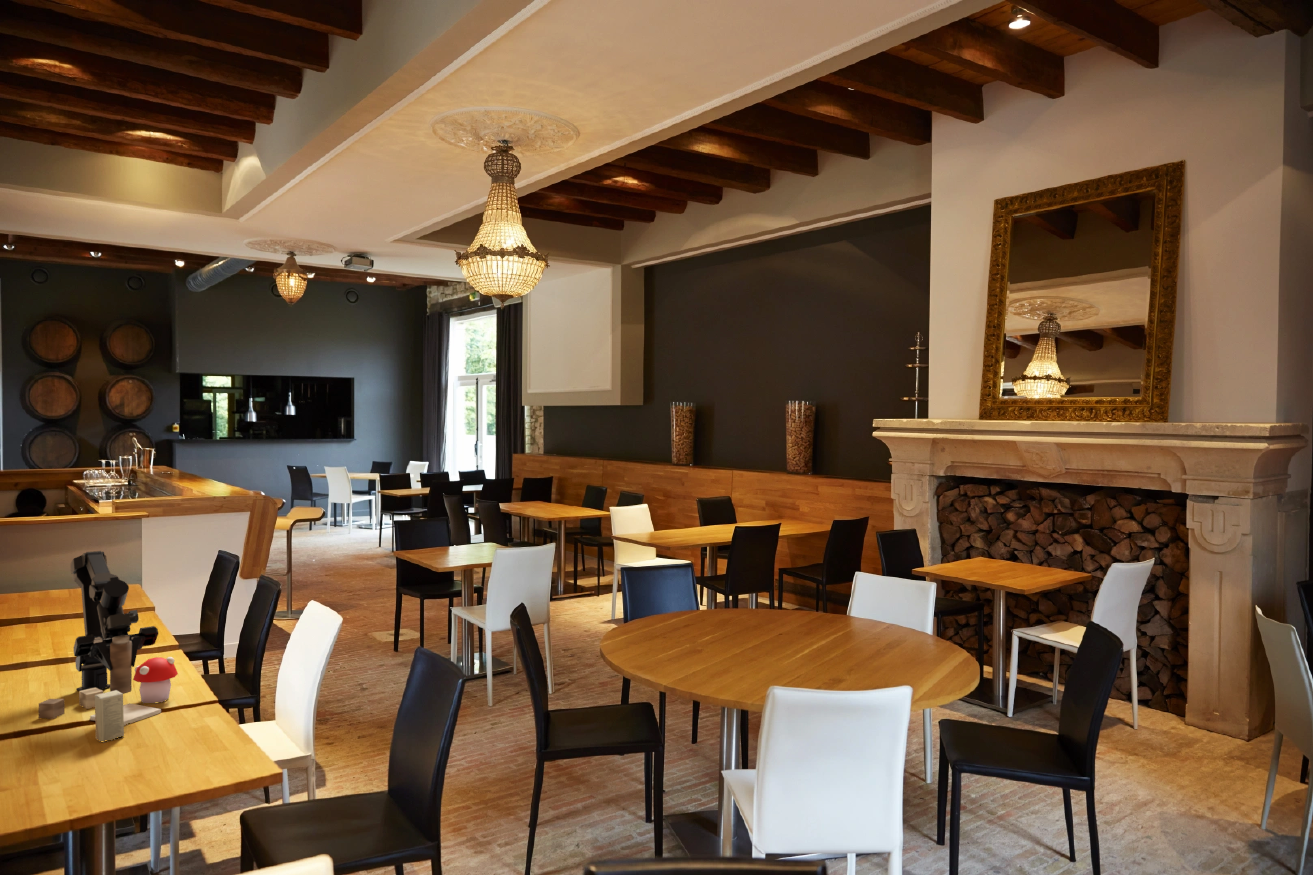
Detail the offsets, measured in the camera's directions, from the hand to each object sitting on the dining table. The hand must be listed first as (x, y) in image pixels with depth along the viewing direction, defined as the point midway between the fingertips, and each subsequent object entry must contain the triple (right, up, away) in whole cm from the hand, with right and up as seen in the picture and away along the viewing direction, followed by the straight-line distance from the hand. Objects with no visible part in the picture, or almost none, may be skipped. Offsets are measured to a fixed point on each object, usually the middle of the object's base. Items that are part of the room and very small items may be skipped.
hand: (122, 667), depth 225 cm
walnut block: (-20, -13, +2) cm, 24 cm away
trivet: (0, -13, +2) cm, 13 cm away
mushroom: (0, -13, +16) cm, 21 cm away
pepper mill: (-1, -7, +1) cm, 7 cm away
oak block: (-15, -13, +11) cm, 23 cm away
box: (+5, -14, -14) cm, 20 cm away
